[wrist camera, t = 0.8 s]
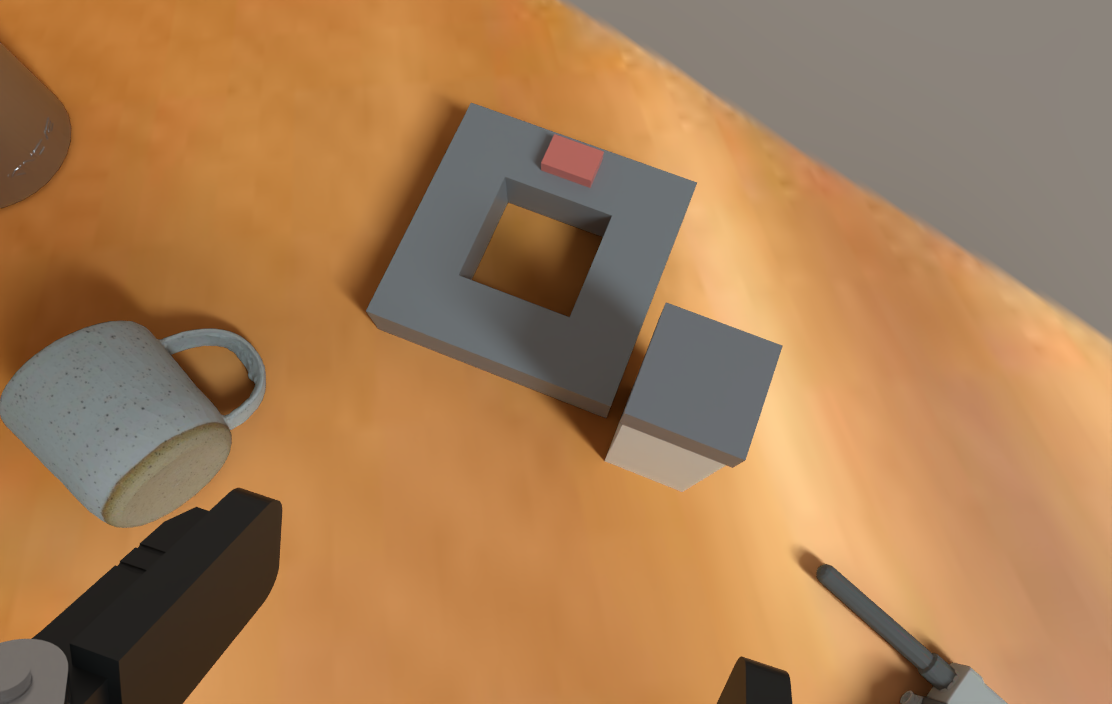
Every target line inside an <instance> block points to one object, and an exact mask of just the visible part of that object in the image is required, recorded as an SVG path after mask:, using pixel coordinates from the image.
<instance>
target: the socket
mask: <svg viewBox="0 0 1112 704" xmlns="http://www.w3.org/2000/svg"><path fill="white" fill-rule="evenodd" d="M696 184H697V182H694V181H691V180H688V179H685V178H682V177H680V176H677V175H674V174H671V173H668V172H666V171H663V170H660V169H657V168H654V167H651V166H649V165H646V164H643V163H640V162H637V161H634V160H632V159H629V158H626V157H623V156H620V155H617V154H615V153H612V152H609V151H606V150H603V149H601V148H598V147H595V146H592V145H589V144H586V143H584V142H581V141H578V140H575V139H572V138H569V137H567V136H564V135H561V134H558V133H555V132H553V131H550V130H547V129H544V128H541V127H538V126H536V125H533V124H530V123H527V122H524V121H521V120H519V119H516V118H513V117H510V116H507V115H504V114H502V113H499V112H496V111H493V110H490V109H488V108H485V107H482V106H479V105H476V104H473V103H471V104H470V106H469V108H468V110H467V112H466V114H465V116H464V118H463V120H462V122H461V124H460V126H459V128H458V130H457V132H456V134H455V136H454V138H453V139H452V141H451V143H450V145H449V147H448V149H447V151H446V153H445V155H444V157H443V159H442V161H441V163H440V165H439V167H438V169H437V171H436V173H435V175H434V177H433V179H432V181H431V183H430V185H429V187H428V189H427V191H426V193H425V195H424V197H423V199H422V201H421V203H420V205H419V207H418V209H417V211H416V213H415V215H414V217H413V219H412V221H411V223H410V225H409V227H408V229H407V231H406V233H405V235H404V237H403V239H402V241H401V243H400V245H399V246H398V248H397V250H396V252H395V254H394V256H393V258H392V260H391V262H390V264H389V266H388V268H387V270H386V272H385V274H384V276H383V278H382V280H381V282H380V284H379V286H378V288H377V290H376V292H375V294H374V296H373V298H372V300H371V302H370V304H369V306H368V308H367V310H366V312H367V313H368V315H369V316H370V318H371V319H372V321H373V322H374V323H375V325H376V326H377V328H378V329H380V330H382V331H385V332H388V333H390V334H393V335H395V336H398V337H400V338H403V339H405V340H408V341H410V342H413V343H416V344H418V345H421V346H423V347H426V348H428V349H431V350H433V351H436V352H439V353H441V354H444V355H446V356H449V357H451V358H454V359H456V360H459V361H461V362H464V363H467V364H469V365H472V366H474V367H477V368H479V369H482V370H484V371H487V372H490V373H492V374H495V375H497V376H500V377H502V378H505V379H507V380H510V381H512V382H515V383H518V384H520V385H523V386H525V387H528V388H530V389H533V390H535V391H538V392H540V393H543V394H546V395H548V396H551V397H553V398H556V399H558V400H561V401H563V402H566V403H569V404H571V405H574V406H576V407H579V408H581V409H584V410H586V411H589V412H591V413H594V414H597V415H599V416H602V417H604V418H607V415H608V412H609V410H610V407H611V405H612V402H613V400H614V397H615V394H616V392H617V389H618V387H619V384H620V381H621V379H622V376H623V374H624V371H625V368H626V366H627V363H628V361H629V358H630V356H631V353H632V350H633V348H634V345H635V343H636V340H637V337H638V335H639V332H640V330H641V327H642V325H643V322H644V319H645V317H646V314H647V312H648V309H649V306H650V304H651V301H652V299H653V296H654V293H655V291H656V288H657V286H658V283H659V281H660V278H661V275H662V273H663V270H664V268H665V265H666V262H667V260H668V257H669V255H670V252H671V250H672V247H673V244H674V242H675V239H676V237H677V234H678V231H679V229H680V226H681V224H682V221H683V219H684V216H685V213H686V211H687V208H688V206H689V203H690V200H691V198H692V195H693V192H694V190H695V187H696ZM508 202H509V203H511V204H514V205H517V206H520V207H522V208H525V209H528V210H531V211H533V212H536V213H539V214H541V215H544V216H547V217H550V218H552V219H555V220H558V221H561V222H563V223H566V224H569V225H571V226H574V227H577V228H580V229H582V230H585V231H588V232H591V233H593V234H596V235H599V236H602V237H603V239H602V241H601V244H600V246H599V248H598V251H597V253H596V256H595V258H594V260H593V263H592V265H591V267H590V270H589V272H588V275H587V277H586V279H585V282H584V284H583V287H582V289H581V291H580V294H579V296H578V299H577V301H576V303H575V306H574V308H573V311H572V313H571V315H570V317H567V316H565V315H562V314H559V313H557V312H554V311H551V310H549V309H546V308H544V307H541V306H538V305H536V304H533V303H530V302H528V301H525V300H522V299H520V298H517V297H515V296H512V295H509V294H507V293H504V292H501V291H499V290H496V289H494V288H491V287H488V286H486V285H483V284H480V283H478V282H475V281H472V278H473V276H474V274H475V272H476V269H477V267H478V265H479V263H480V261H481V259H482V257H483V254H484V252H485V250H486V248H487V246H488V244H489V242H490V239H491V237H492V235H493V233H494V231H495V229H496V227H497V224H498V222H499V220H500V218H501V216H502V214H503V212H504V209H505V207H506V205H507V203H508Z"/></svg>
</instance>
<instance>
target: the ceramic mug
mask: <svg viewBox="0 0 1112 704" xmlns="http://www.w3.org/2000/svg"><path fill="white" fill-rule="evenodd" d="M200 346H220V347H225V348H228V349H229V350H230V351H232V352H234V353H235V354H236V355H237V357H238V358H239V359H240V361H241V362H242V363H243V364H244V366H245V367H246V369H247V370H248V377H249V379H251V380H252V381H254V383H255V384H256V385H255V388H254V390H253V391H252V393H251V395H250V397H249V398H248V399H247V400H246V401H245V402H244V403H242V404H241V405H240V406H239V407H238V408H237V409H235V410H233V411H232V412H231V413H230V414H228V415H225V416H224V415H221V414H220V412H219V411H218V410H217V408H216V407H215V406H214V405H213V403H212V402H211V401H210V400H209V399H208V398H207V397H206V396H205V395H204V394H203V393H202V392H201V391H200V390H199V389H198V388H197V386H196V385H195V384H194V383H193V382H192V380H191V379H190V378H189V377H188V375H187V374H186V373H185V372H184V371H183V369H182V368H181V367H180V366H179V365H178V363H177V362H176V361H175V360H174V359H173V357H172V356H171V355H172V354H174V353H177V352H180V351H183V350H186V349H190V348H194V347H200ZM265 388H266V374H265V366H264V364H263V361H262V359H261V357H260V356H259V354H258V352H257V351H256V350H255V349H254V347H253V346H252V345H251V344H250V343H249V342H248V341H246V340H245V339H244V338H243V337H241V336H239V335H237V334H235V333H233V332H230V331H226V330H220V329H196V330H190V331H185V332H181V333H178V334H175V335H172V336H169V337H166V338H164V339H161V340H159V339H156V338H155V336H154V335H153V334H152V333H151V332H150V331H149V330H148V329H147V328H146V327H144V326H142V325H140V324H138V323H135V322H132V321H109V322H104V323H99V324H96V325H92V326H89V327H85V328H83V329H81V330H78V331H76V332H73V333H71V334H69V335H67V336H65V337H63V338H60V339H58V340H56V341H55V342H53V343H52V344H50V345H49V346H47V347H46V348H44V349H42V350H41V351H40V352H39V353H37V354H35V355H34V356H33V357H32V358H31V359H29V360H28V361H27V362H26V363H25V364H24V365H23V366H22V367H21V368H20V369H19V370H18V371H17V372H16V373H15V375H14V376H13V377H12V378H11V380H10V381H9V383H8V384H7V385H6V387H5V389H4V391H3V393H2V395H1V398H0V416H1V418H2V420H3V422H4V424H5V425H6V426H7V427H8V428H9V429H10V430H11V431H12V432H13V433H14V434H15V435H16V436H17V437H18V438H19V439H20V440H21V441H22V442H23V443H24V444H25V445H26V447H27V448H29V449H30V450H31V452H32V453H33V454H34V455H35V456H36V457H37V458H38V459H39V460H40V461H41V462H42V463H43V464H44V466H45V467H47V468H48V469H49V470H50V471H51V472H52V473H53V474H54V475H55V476H56V477H57V478H58V479H59V480H60V481H61V482H62V483H63V484H64V485H65V486H66V488H67V489H68V490H69V491H70V492H71V493H72V494H73V495H74V496H75V497H76V499H77V500H78V501H79V502H80V503H81V504H82V505H83V506H84V507H86V508H87V509H88V510H89V511H90V512H91V513H92V514H94V515H95V516H97V517H98V518H99V519H101V520H102V521H104V522H106V523H107V524H109V525H112V526H115V527H121V528H129V527H136V526H142V525H145V524H148V523H150V522H153V521H155V520H157V519H159V518H161V517H163V516H165V515H167V514H169V513H170V512H172V511H174V510H175V509H177V508H178V507H180V506H181V505H182V504H184V503H185V502H186V501H188V500H189V499H190V498H192V497H193V496H194V495H196V494H197V493H198V492H199V491H200V490H201V489H202V488H203V487H204V486H205V485H206V484H208V483H209V482H210V480H211V479H212V478H213V477H214V476H215V475H216V474H217V473H218V471H219V470H220V469H221V467H222V466H223V464H224V463H225V461H226V459H227V457H228V455H229V452H230V448H231V444H232V437H231V432H230V430H232V429H233V428H235V427H237V426H238V425H240V424H242V423H243V422H245V421H246V420H247V419H248V418H249V417H250V416H251V415H252V414H253V412H254V411H255V410H256V409H257V408H258V406H259V405H260V403H261V401H262V399H263V396H264V394H265Z"/></svg>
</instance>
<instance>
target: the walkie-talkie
mask: <svg viewBox="0 0 1112 704" xmlns="http://www.w3.org/2000/svg"><path fill="white" fill-rule="evenodd" d="M817 579H818V580H819V581H820V582H821V583H822V584H823V585H824V586H825V587H826V588H827V589H829V590H830V591H831V592H832V593H833V594H834V595H835V596H836V597H838V598H839V599H840V600H841V601H842V602H843V603H844V604H845V605H847V606H848V607H849V608H850V609H851V610H852V611H853V612H854V613H856V614H857V615H858V616H859V617H860V618H861V619H862V620H863V621H865V622H866V623H867V624H868V625H869V626H870V627H871V628H872V629H874V630H875V631H876V632H877V633H878V634H879V635H880V636H882V637H883V638H884V639H885V640H886V641H887V642H888V643H889V644H891V645H892V646H893V647H894V648H895V649H896V650H897V651H898V652H900V653H901V654H902V655H903V656H904V657H905V658H906V659H907V660H909V661H910V662H911V663H912V664H913V665H914V666H915V667H916V668H918V672H919V674H920V675H922V676H923V677H924V678H925V679H926V680H927V681H928V682H929V683H931V684H932V685H933V688H932V689H931V691H930V692H929V693H928V695H927V697H924V696H919V695H915V694H914V693H913V692H912V691H907V692H906V693H905V694H903V696H902V697H901V700H900V703H901V704H1007V703H1006V702H1005V701H1004V700H1003V699H1002V698H1001V697H999V696H998V695H997V694H996V693H995V692H994V691H993V690H992V689H990V688H989V687H988V686H987V685H986V684H985V683H984V681H983V679H982V677H981V676H980V675H979V674H978V673H976V672H975V671H974V670H973V669H972V668H971V667H969V666H966V665H961V664H957V663H951V664H948V663H947V662H946V661H944V660H943V659H942V658H941V657H940V656H939V655H937V654H936V653H931V652H930V651H929V650H928V649H926V648H925V647H924V646H923V645H922V644H921V643H920V642H918V641H917V640H916V639H915V638H914V637H913V636H912V635H910V634H909V633H908V632H907V631H906V630H905V629H904V628H902V627H901V626H900V625H899V624H898V623H897V622H896V621H894V620H893V619H892V618H891V617H890V616H889V615H888V614H886V613H885V612H884V611H883V610H882V609H881V608H879V607H878V606H877V605H876V604H875V603H874V602H873V601H871V600H870V599H869V598H868V597H867V596H866V595H865V594H863V593H862V592H861V591H860V590H859V589H858V588H857V587H855V586H854V585H853V584H852V583H851V582H850V581H849V580H847V579H846V578H845V577H844V576H843V575H842V574H841V573H839V572H838V571H837V570H836V569H835V568H834V567H833V566H831V565H827V564H825V565H821V566H820V567H819V568H818V569H817Z"/></svg>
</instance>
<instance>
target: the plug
mask: <svg viewBox="0 0 1112 704" xmlns="http://www.w3.org/2000/svg"><path fill="white" fill-rule="evenodd" d="M781 349H782V345H779V344H776V343H774V342H771V341H768V340H766V339H763V338H760V337H758V336H755V335H752V334H749V333H747V332H744V331H741V330H739V329H736V328H733V327H731V326H728V325H725V324H723V323H720V322H717V321H715V320H712V319H709V318H707V317H704V316H701V315H698V314H696V313H693V312H690V311H688V310H685V309H682V308H680V307H677V306H674V305H672V304H669V303H666V304H665V306H664V309H663V311H662V313H661V316H660V318H659V320H658V323H657V326H656V328H655V331H654V333H653V336H652V339H651V341H650V344H649V347H648V349H647V352H646V354H645V357H644V360H643V362H642V365H641V368H640V370H639V373H638V375H637V378H636V381H635V383H634V385H633V387H632V390H631V393H630V395H629V398H628V401H627V403H626V406H625V408H624V411H623V414H622V416H621V419H620V422H619V424H618V427H617V429H616V432H615V435H614V437H613V440H612V443H611V445H610V448H609V450H608V453H607V456H606V458H605V461H606V462H608V463H611V464H613V465H616V466H618V467H621V468H623V469H626V470H628V471H631V472H633V473H636V474H638V475H641V476H643V477H646V478H648V479H651V480H653V481H656V482H658V483H661V484H664V485H666V486H669V487H671V488H674V489H676V490H679V491H681V492H683V491H685V490H686V489H688V488H690V487H691V486H693V485H695V484H696V483H698V482H699V481H701V480H703V479H704V478H706V477H708V476H709V475H711V474H713V473H714V472H716V471H717V470H719V469H721V468H722V467H724V466H726V465H727V466H729V467H732V468H733V467H735V466H736V465H738V464H740V463H741V462H743V461H745V460H746V457H747V453H748V450H749V447H750V444H751V441H752V438H753V435H754V432H755V429H756V426H757V423H758V420H759V417H760V414H761V410H762V407H763V404H764V401H765V398H766V395H767V392H768V389H769V386H770V383H771V380H772V377H773V374H774V371H775V367H776V364H777V361H778V358H779V355H780V352H781Z"/></svg>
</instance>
